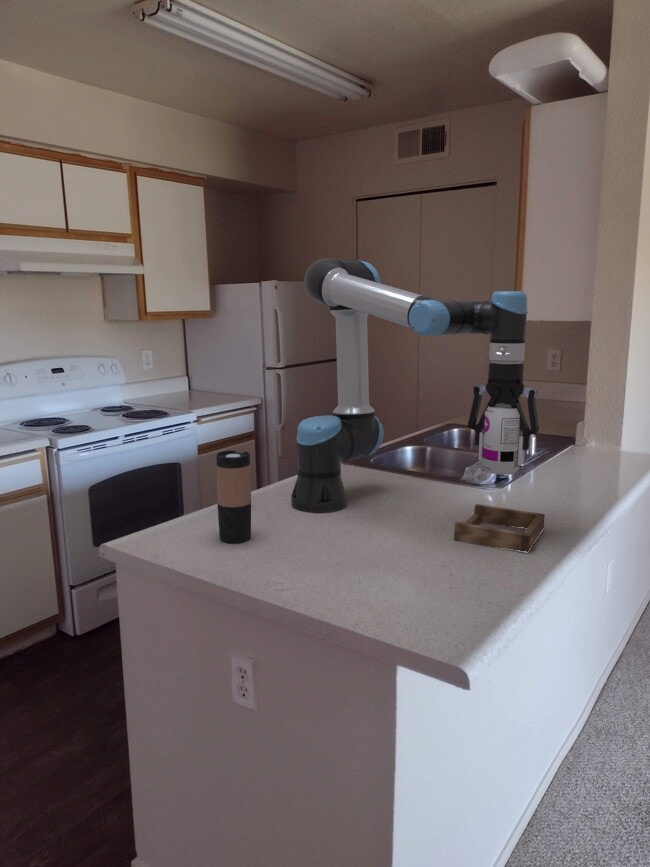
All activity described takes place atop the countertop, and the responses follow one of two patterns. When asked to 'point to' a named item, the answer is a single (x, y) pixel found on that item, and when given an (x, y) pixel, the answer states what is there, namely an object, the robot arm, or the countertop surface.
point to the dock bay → (500, 537)
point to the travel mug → (234, 496)
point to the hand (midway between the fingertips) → (500, 461)
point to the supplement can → (501, 439)
